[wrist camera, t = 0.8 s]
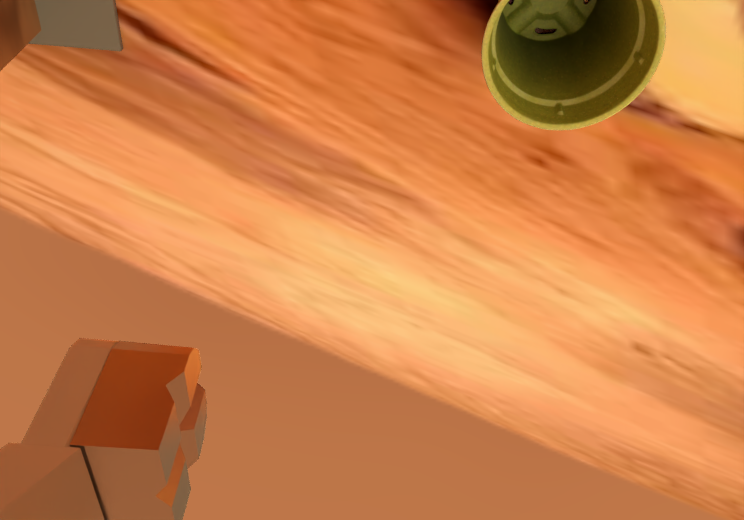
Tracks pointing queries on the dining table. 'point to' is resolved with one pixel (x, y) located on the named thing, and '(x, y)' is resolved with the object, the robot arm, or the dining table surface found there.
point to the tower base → (16, 27)
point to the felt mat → (78, 24)
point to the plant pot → (571, 58)
